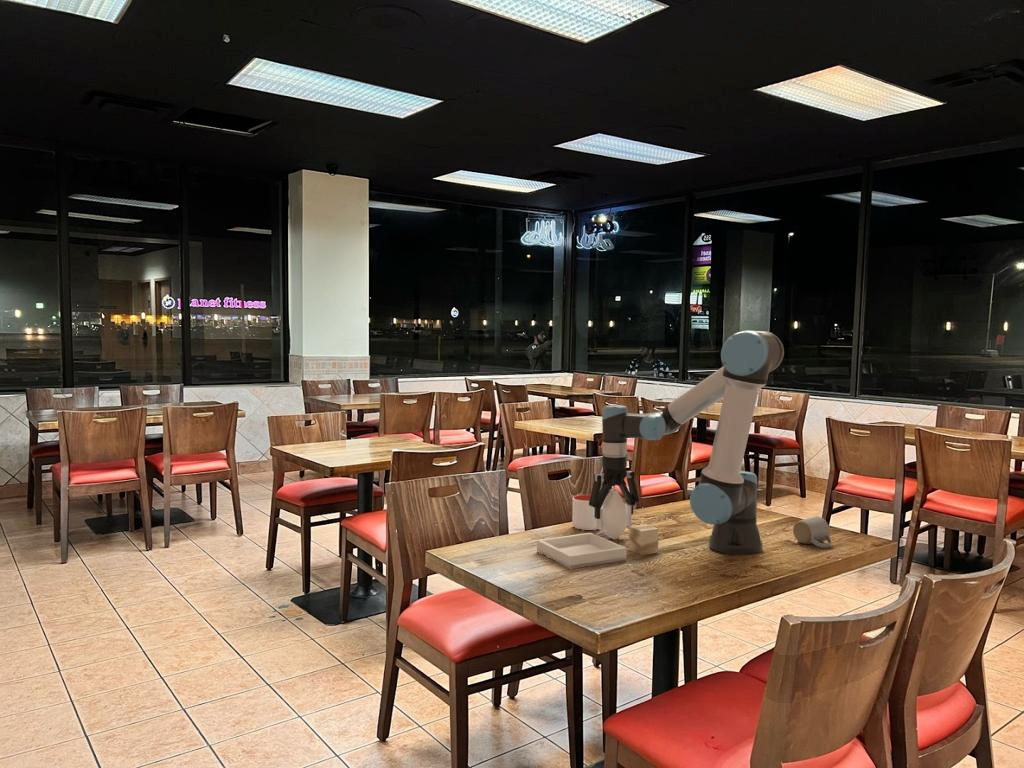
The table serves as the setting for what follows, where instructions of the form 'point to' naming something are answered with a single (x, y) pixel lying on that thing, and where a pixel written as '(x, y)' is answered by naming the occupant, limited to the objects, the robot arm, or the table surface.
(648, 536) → the birch block
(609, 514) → the sauce bottle
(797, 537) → the ceramic mug
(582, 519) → the cup
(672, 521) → the table surface
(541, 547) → the tray
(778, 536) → the table surface
